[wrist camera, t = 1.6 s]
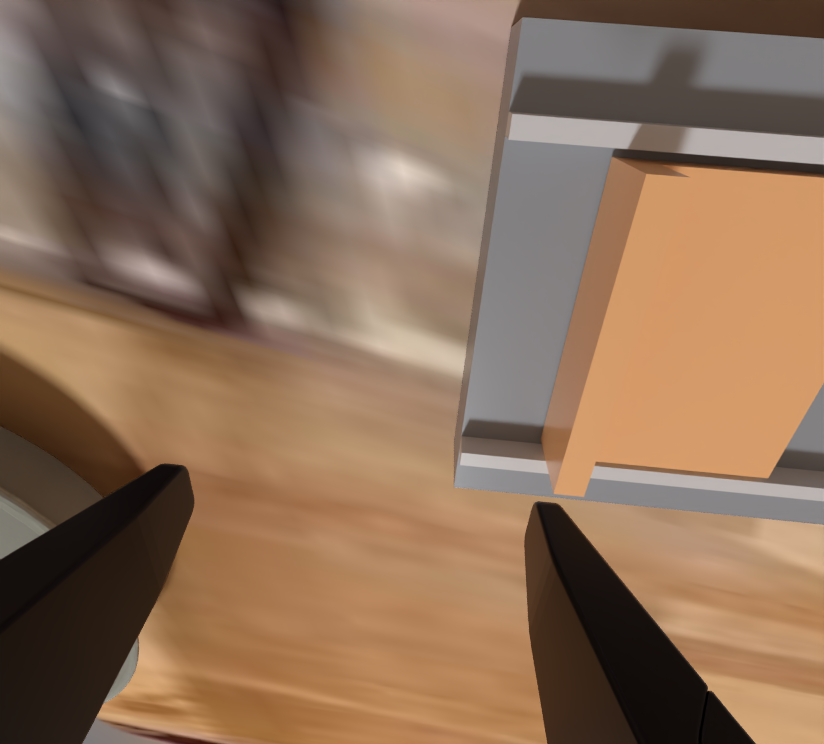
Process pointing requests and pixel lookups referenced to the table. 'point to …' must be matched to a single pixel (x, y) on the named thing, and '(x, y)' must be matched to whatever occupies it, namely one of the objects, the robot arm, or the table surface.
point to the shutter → (692, 323)
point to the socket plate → (575, 219)
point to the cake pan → (43, 507)
